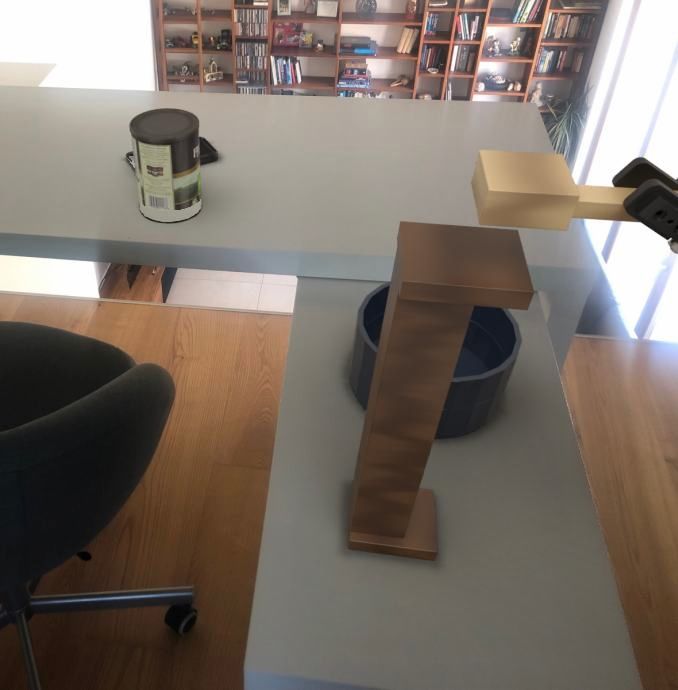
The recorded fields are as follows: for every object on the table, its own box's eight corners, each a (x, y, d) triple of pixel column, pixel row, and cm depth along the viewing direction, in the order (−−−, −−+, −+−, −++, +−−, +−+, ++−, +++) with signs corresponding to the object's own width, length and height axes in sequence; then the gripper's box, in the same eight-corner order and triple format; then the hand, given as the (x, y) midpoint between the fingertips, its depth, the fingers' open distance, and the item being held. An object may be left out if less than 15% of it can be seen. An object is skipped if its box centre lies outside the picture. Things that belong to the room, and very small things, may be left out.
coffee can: (198, 186, 115) (195, 104, 106) (206, 220, 108) (203, 135, 98) (136, 192, 114) (127, 110, 105) (140, 226, 107) (130, 141, 97)
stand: (430, 498, 70) (518, 229, 48) (434, 561, 65) (534, 292, 43) (350, 488, 71) (400, 220, 49) (348, 549, 66) (402, 280, 44)
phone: (219, 153, 121) (138, 172, 117) (220, 159, 122) (139, 178, 117) (202, 135, 126) (123, 152, 122) (202, 141, 127) (124, 158, 123)
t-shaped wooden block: (479, 225, 41) (488, 189, 40) (470, 183, 45) (479, 149, 43) (732, 242, 40) (753, 206, 38) (702, 197, 43) (720, 162, 42)
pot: (490, 340, 87) (509, 283, 80) (509, 447, 74) (533, 389, 68) (351, 327, 89) (359, 270, 83) (346, 428, 76) (356, 371, 70)
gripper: (837, 217, 47) (653, 81, 43) (961, 356, 37) (737, 196, 33) (731, 288, 52) (557, 171, 48) (816, 428, 42) (605, 295, 38)
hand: (631, 182), depth 41 cm, fingers closed on t-shaped wooden block, 2 cm apart
